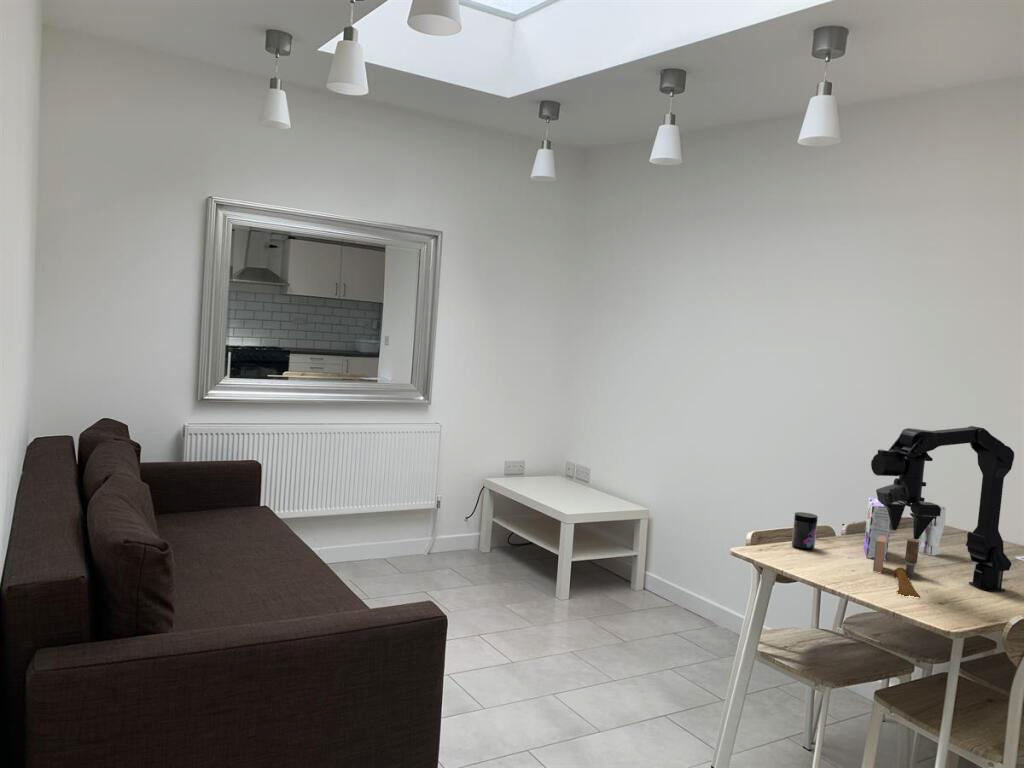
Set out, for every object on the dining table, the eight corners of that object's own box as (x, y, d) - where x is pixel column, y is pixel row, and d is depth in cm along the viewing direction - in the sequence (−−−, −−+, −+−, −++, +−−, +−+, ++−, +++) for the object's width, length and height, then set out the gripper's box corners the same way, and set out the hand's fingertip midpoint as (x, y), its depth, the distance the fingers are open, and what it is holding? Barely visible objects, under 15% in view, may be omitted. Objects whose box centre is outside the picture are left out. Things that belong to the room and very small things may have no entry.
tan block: (883, 566, 235) (886, 536, 234) (881, 573, 228) (885, 542, 227) (874, 565, 236) (877, 535, 235) (872, 571, 229) (876, 540, 228)
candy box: (862, 547, 256) (868, 496, 255) (883, 550, 254) (888, 499, 253) (865, 558, 243) (871, 504, 242) (887, 561, 241) (893, 507, 240)
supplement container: (799, 551, 246) (803, 517, 245) (786, 544, 252) (790, 511, 252) (818, 551, 247) (822, 517, 247) (805, 545, 254) (809, 512, 253)
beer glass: (934, 557, 251) (939, 509, 249) (912, 551, 256) (917, 504, 255) (945, 555, 255) (950, 508, 254) (923, 549, 260) (928, 503, 259)
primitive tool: (921, 601, 206) (922, 587, 206) (898, 597, 208) (899, 584, 208) (906, 580, 225) (908, 567, 225) (885, 577, 226) (886, 565, 226)
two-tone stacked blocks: (915, 572, 232) (919, 538, 231) (914, 580, 224) (919, 544, 223) (903, 570, 233) (907, 536, 232) (902, 577, 225) (906, 542, 224)
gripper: (862, 468, 222) (857, 524, 223) (905, 482, 203) (898, 543, 204) (899, 470, 223) (893, 525, 225) (945, 484, 205) (938, 544, 206)
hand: (904, 534), depth 215 cm, fingers open, 9 cm apart
